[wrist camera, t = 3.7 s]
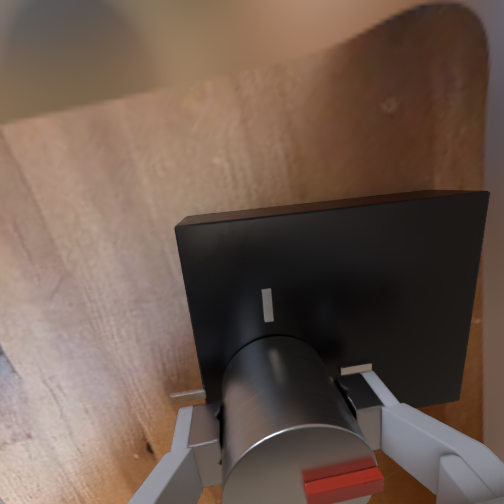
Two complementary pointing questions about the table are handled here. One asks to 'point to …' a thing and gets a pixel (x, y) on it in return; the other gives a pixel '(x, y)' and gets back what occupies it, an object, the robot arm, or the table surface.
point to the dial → (290, 431)
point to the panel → (340, 286)
